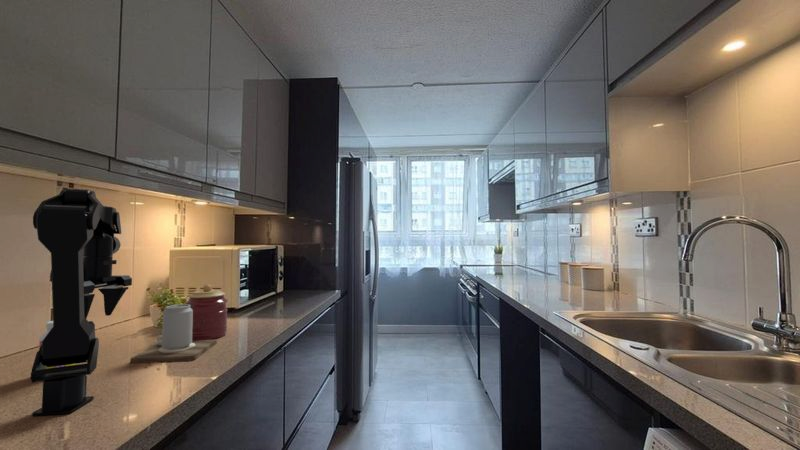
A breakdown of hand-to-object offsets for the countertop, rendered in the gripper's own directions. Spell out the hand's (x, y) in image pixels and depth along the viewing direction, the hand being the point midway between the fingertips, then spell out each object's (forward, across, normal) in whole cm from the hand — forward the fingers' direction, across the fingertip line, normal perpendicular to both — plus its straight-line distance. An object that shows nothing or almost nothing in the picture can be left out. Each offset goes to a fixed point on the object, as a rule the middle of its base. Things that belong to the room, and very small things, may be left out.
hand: (95, 319), depth 87 cm
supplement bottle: (+13, 0, -8) cm, 15 cm away
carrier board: (+13, -14, +13) cm, 23 cm away
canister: (+13, -32, +14) cm, 37 cm away
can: (+12, -14, +13) cm, 22 cm away
